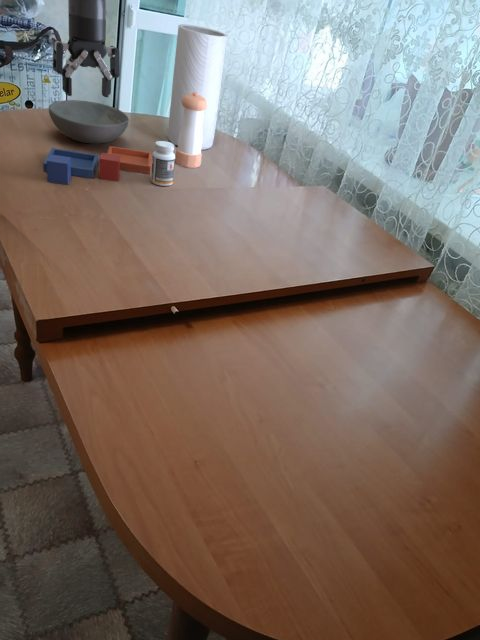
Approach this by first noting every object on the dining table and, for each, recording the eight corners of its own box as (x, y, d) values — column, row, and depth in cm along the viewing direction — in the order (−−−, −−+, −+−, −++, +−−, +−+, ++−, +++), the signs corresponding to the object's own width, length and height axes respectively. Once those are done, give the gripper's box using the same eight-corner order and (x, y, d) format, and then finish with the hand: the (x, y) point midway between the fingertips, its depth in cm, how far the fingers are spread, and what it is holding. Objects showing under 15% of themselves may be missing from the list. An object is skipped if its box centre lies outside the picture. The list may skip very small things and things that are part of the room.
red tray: (104, 167, 141) (104, 159, 140) (109, 153, 151) (109, 145, 149) (150, 174, 144) (150, 166, 143) (151, 159, 153) (152, 152, 152)
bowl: (103, 126, 168) (103, 99, 163) (141, 150, 158) (143, 122, 153) (36, 129, 154) (35, 100, 150) (73, 155, 144) (73, 124, 139)
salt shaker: (195, 170, 153) (204, 98, 142) (171, 163, 154) (178, 90, 143) (203, 163, 159) (213, 93, 148) (180, 156, 160) (187, 86, 149)
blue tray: (43, 171, 132) (42, 163, 131) (51, 155, 141) (51, 147, 140) (93, 178, 134) (93, 170, 133) (98, 162, 143) (98, 154, 142)
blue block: (47, 181, 128) (46, 160, 125) (51, 174, 131) (50, 154, 128) (67, 184, 129) (67, 163, 126) (71, 177, 132) (70, 157, 129)
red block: (99, 178, 135) (99, 158, 132) (101, 172, 139) (101, 152, 136) (118, 181, 136) (118, 161, 133) (119, 174, 140) (120, 155, 137)
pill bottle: (177, 184, 142) (181, 146, 136) (162, 188, 138) (166, 149, 132) (160, 176, 144) (164, 138, 138) (145, 180, 140) (148, 141, 134)
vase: (210, 154, 167) (226, 39, 148) (163, 145, 165) (173, 27, 147) (214, 141, 178) (229, 32, 160) (170, 132, 177) (181, 21, 158)
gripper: (112, 13, 120) (109, 92, 129) (46, 5, 112) (49, 89, 121) (127, 21, 115) (123, 101, 125) (59, 12, 107) (61, 99, 117)
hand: (87, 95), depth 123 cm, fingers open, 8 cm apart
